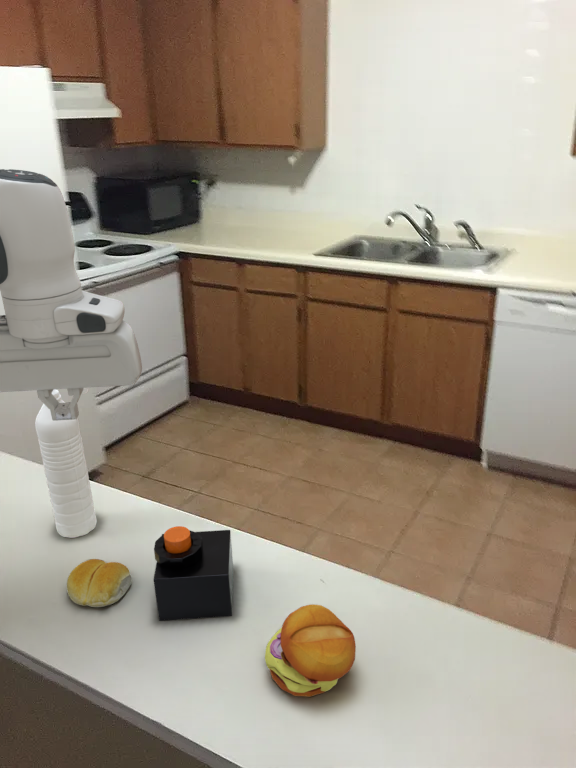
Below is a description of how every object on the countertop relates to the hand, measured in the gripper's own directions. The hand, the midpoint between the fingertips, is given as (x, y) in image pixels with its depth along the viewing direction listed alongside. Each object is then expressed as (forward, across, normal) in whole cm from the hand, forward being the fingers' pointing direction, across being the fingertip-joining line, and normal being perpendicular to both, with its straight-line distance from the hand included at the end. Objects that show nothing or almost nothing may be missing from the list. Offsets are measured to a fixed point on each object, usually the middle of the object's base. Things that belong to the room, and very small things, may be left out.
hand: (66, 418), depth 84 cm
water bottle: (+29, -6, +18) cm, 35 cm away
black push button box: (+29, +14, 0) cm, 32 cm away
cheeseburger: (+29, +29, -16) cm, 44 cm away
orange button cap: (+20, +12, 0) cm, 24 cm away
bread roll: (+29, 0, +2) cm, 29 cm away
